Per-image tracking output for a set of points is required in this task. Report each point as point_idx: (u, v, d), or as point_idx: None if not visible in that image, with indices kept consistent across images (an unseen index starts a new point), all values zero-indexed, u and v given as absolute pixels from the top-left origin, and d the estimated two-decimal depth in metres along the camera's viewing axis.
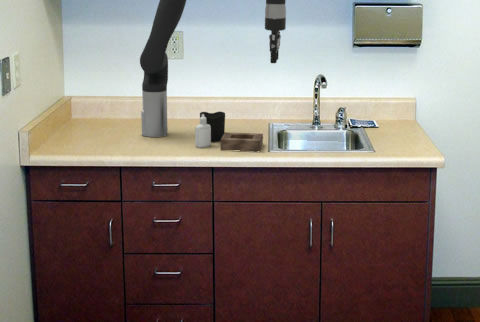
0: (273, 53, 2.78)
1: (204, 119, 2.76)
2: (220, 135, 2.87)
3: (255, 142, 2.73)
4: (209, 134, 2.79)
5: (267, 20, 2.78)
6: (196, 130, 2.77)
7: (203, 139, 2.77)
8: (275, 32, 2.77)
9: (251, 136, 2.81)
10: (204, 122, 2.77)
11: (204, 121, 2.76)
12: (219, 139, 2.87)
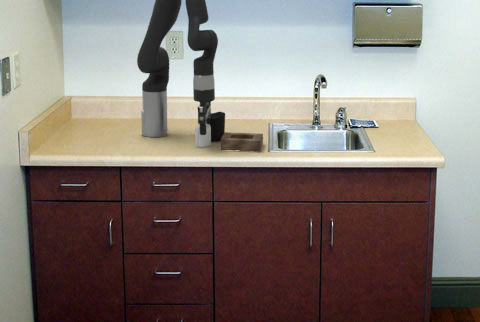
0: (202, 125, 2.72)
1: None
2: (221, 135, 2.87)
3: (255, 142, 2.73)
4: (209, 134, 2.79)
5: (195, 91, 2.72)
6: (196, 130, 2.77)
7: (203, 139, 2.77)
8: (203, 103, 2.71)
9: (251, 136, 2.81)
10: None
11: None
12: (219, 139, 2.87)
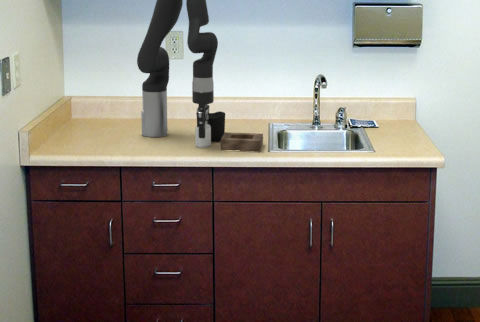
0: (201, 128, 2.74)
1: None
2: (221, 135, 2.87)
3: (255, 142, 2.73)
4: (209, 134, 2.79)
5: (194, 93, 2.72)
6: (196, 130, 2.77)
7: (203, 139, 2.77)
8: (202, 106, 2.72)
9: (251, 136, 2.81)
10: None
11: None
12: (219, 139, 2.87)
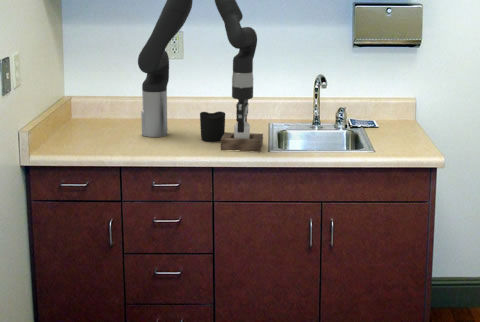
0: (240, 123, 2.71)
1: None
2: (221, 135, 2.87)
3: (255, 142, 2.73)
4: (248, 132, 2.78)
5: (234, 89, 2.71)
6: (235, 128, 2.76)
7: (241, 137, 2.76)
8: (242, 101, 2.71)
9: (251, 136, 2.81)
10: None
11: None
12: (219, 139, 2.87)
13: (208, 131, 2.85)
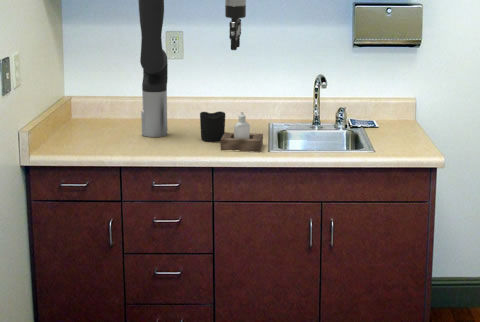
0: (233, 40, 2.82)
1: (243, 117, 2.75)
2: (221, 135, 2.87)
3: (255, 142, 2.73)
4: (248, 132, 2.78)
5: (227, 8, 2.82)
6: (235, 128, 2.76)
7: (242, 137, 2.76)
8: (235, 19, 2.82)
9: (251, 136, 2.81)
10: (243, 120, 2.76)
11: (243, 119, 2.75)
12: (219, 139, 2.87)
13: (208, 131, 2.85)
